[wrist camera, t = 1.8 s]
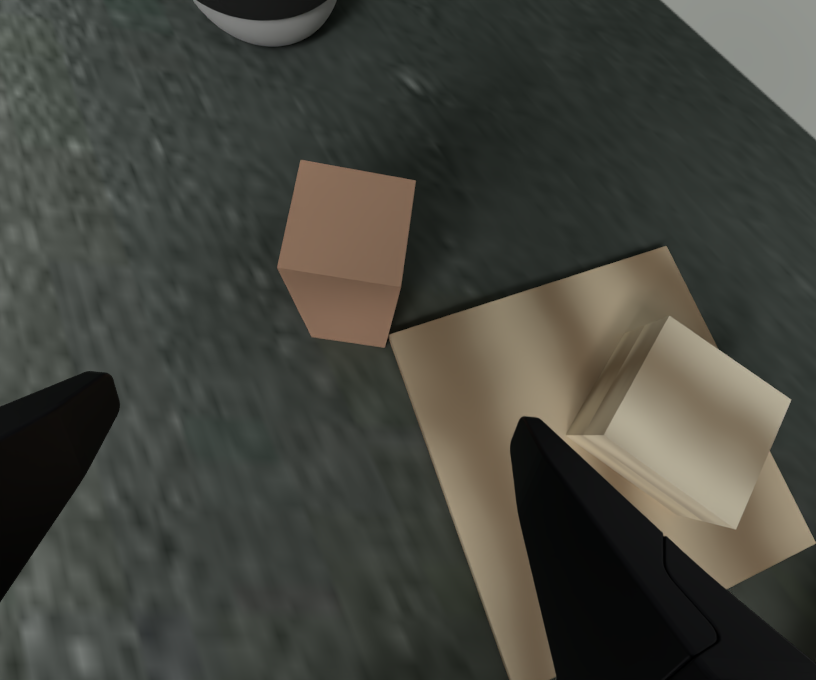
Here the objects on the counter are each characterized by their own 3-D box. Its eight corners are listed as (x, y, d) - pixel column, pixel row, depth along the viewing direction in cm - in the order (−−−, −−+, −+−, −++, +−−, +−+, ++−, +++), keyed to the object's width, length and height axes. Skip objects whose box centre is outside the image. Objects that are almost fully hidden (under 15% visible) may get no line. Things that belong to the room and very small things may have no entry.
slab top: (703, 521, 20) (736, 529, 18) (582, 435, 20) (603, 435, 19) (756, 402, 22) (791, 399, 20) (645, 325, 22) (669, 315, 20)
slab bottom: (676, 514, 22) (703, 521, 20) (565, 435, 22) (582, 435, 20) (727, 405, 23) (756, 402, 22) (624, 333, 24) (645, 325, 22)
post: (384, 347, 23) (400, 287, 14) (311, 336, 22) (277, 267, 13) (394, 279, 24) (416, 180, 15) (324, 268, 23) (300, 159, 14)
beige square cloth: (512, 688, 20) (516, 696, 19) (388, 337, 23) (388, 334, 22) (804, 540, 23) (816, 543, 22) (659, 250, 26) (666, 245, 25)
